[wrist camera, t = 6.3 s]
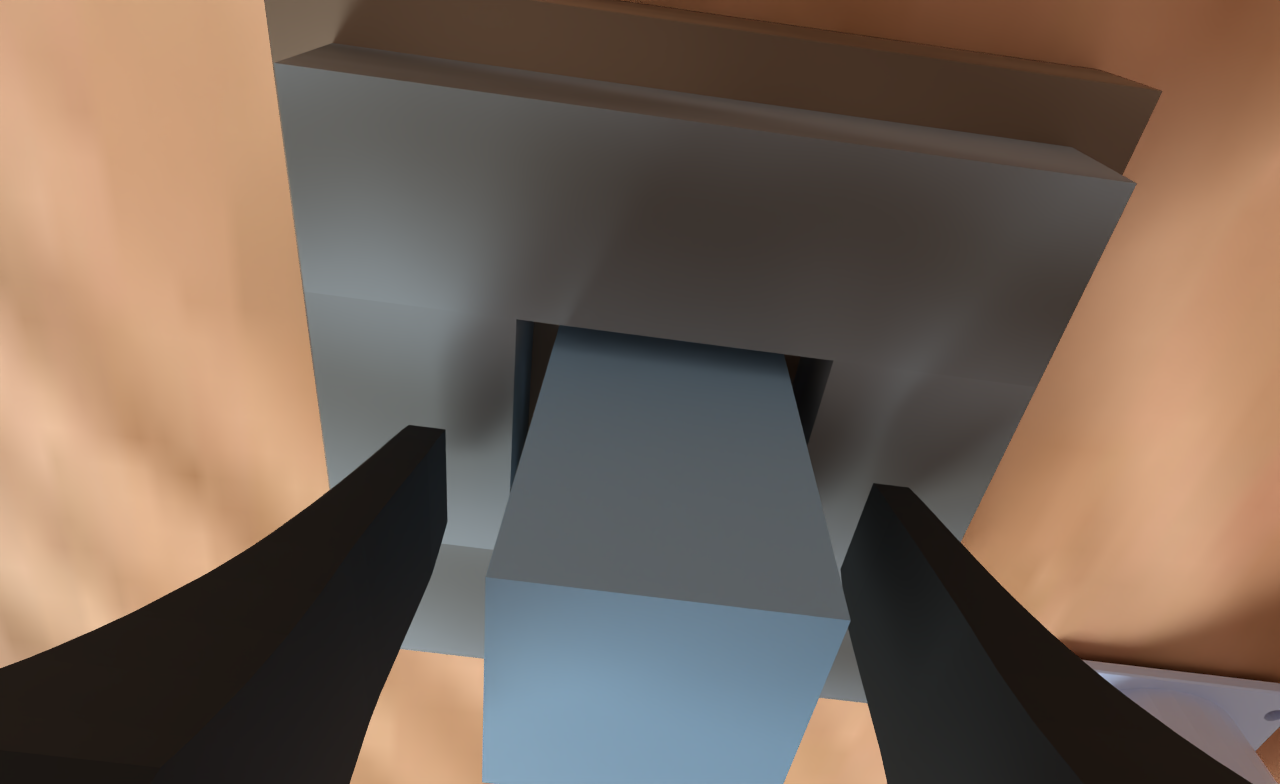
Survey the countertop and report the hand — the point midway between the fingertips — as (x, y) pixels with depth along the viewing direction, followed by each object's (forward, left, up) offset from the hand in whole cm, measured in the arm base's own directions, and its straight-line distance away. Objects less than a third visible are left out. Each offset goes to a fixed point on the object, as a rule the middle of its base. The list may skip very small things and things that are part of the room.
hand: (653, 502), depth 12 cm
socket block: (0, 0, -5) cm, 5 cm away
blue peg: (0, 0, -3) cm, 3 cm away
